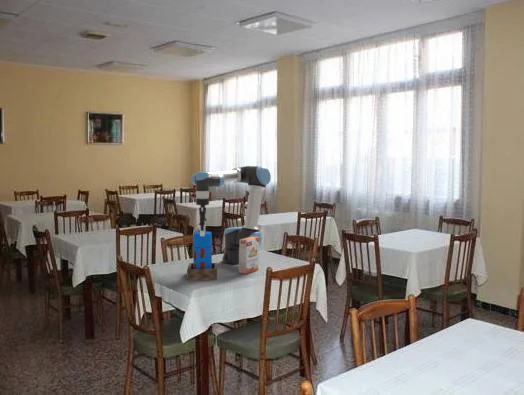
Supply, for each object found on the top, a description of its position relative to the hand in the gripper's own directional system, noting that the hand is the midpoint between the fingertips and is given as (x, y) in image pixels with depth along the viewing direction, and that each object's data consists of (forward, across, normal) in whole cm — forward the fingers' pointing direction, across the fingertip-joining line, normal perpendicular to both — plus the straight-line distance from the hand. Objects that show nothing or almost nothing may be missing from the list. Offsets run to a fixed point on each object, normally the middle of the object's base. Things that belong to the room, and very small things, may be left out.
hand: (202, 233), depth 302 cm
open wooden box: (+25, 0, 0) cm, 25 cm away
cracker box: (+26, -10, +28) cm, 39 cm away
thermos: (+24, 0, 0) cm, 24 cm away
